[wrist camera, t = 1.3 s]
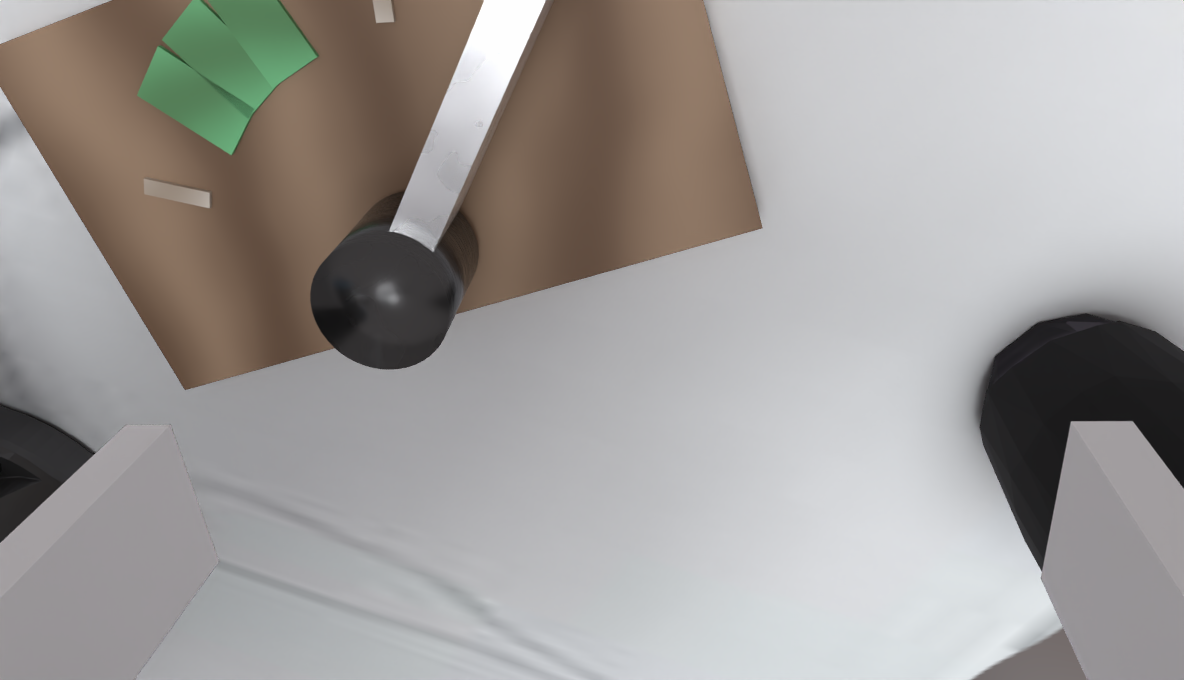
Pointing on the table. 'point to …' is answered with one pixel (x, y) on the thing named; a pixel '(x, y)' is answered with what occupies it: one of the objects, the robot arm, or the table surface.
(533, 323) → the table surface
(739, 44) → the table surface
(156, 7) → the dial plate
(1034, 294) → the table surface
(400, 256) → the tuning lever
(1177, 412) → the portable speaker
